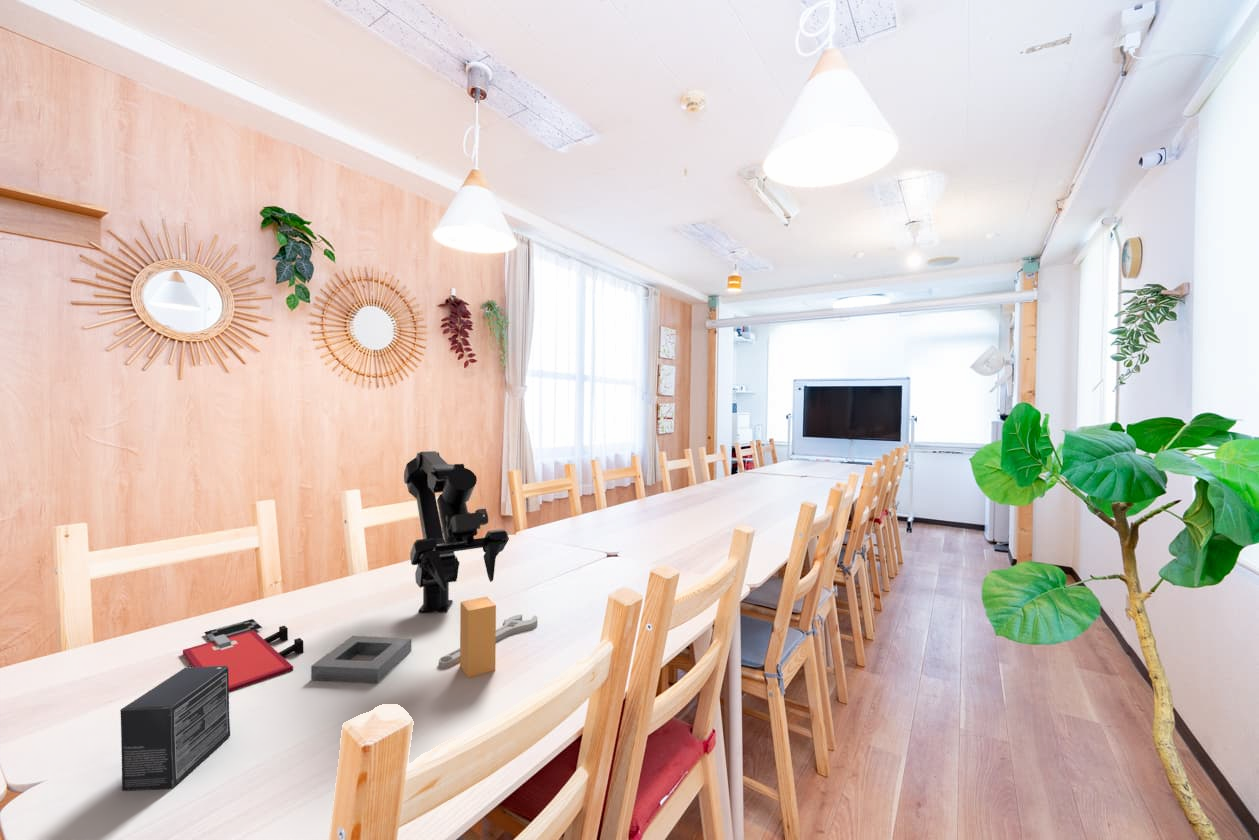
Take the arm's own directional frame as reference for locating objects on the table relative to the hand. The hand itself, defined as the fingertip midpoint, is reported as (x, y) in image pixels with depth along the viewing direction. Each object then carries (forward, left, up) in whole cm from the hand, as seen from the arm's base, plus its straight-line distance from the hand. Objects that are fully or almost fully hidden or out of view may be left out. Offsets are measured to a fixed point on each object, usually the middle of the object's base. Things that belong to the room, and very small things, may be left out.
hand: (469, 585), depth 101 cm
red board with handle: (-3, -43, -14) cm, 45 cm away
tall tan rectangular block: (+7, +3, -13) cm, 15 cm away
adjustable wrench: (-4, +3, -14) cm, 15 cm away
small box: (+29, -32, -13) cm, 45 cm away
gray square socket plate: (+4, -18, -13) cm, 23 cm away
